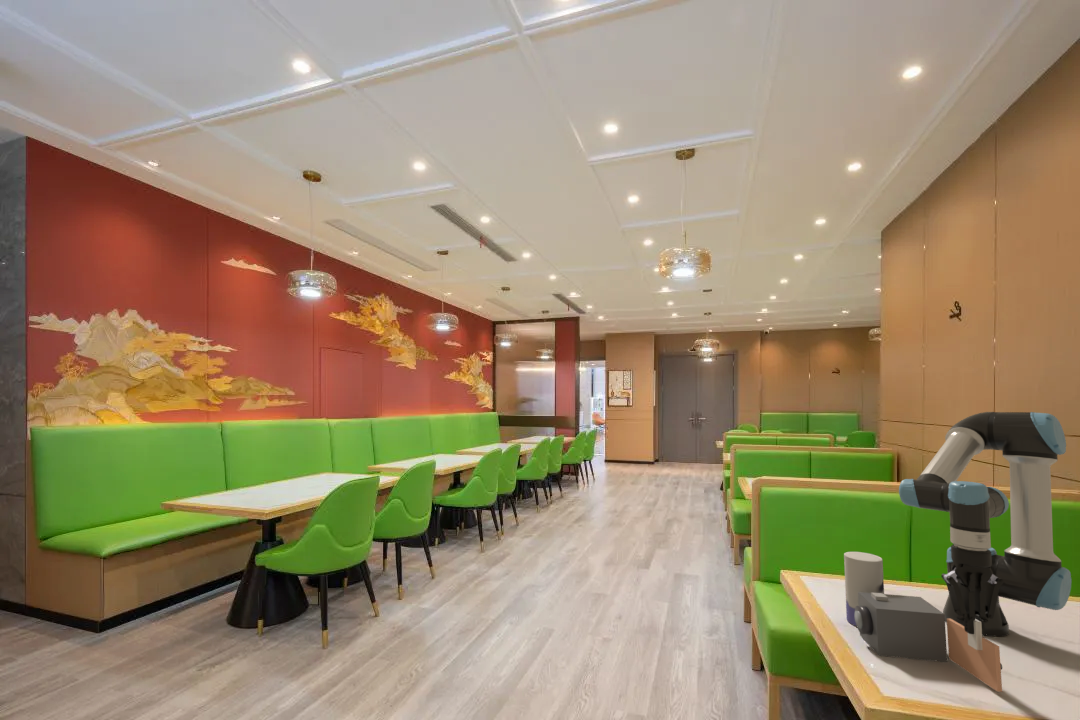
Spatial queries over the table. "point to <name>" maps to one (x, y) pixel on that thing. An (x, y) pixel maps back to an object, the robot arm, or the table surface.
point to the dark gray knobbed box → (901, 626)
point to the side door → (975, 656)
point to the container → (861, 578)
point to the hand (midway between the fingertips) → (975, 647)
